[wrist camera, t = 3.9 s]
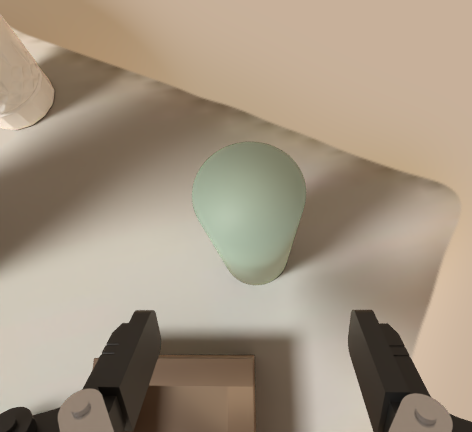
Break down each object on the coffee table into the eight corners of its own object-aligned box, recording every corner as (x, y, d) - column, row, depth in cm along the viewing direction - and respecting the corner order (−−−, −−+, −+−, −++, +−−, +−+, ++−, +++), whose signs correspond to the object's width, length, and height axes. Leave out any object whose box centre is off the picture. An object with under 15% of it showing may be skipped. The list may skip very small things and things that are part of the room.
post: (289, 284, 25) (310, 245, 13) (223, 285, 25) (189, 248, 14) (286, 221, 26) (302, 139, 15) (224, 223, 27) (194, 144, 15)
